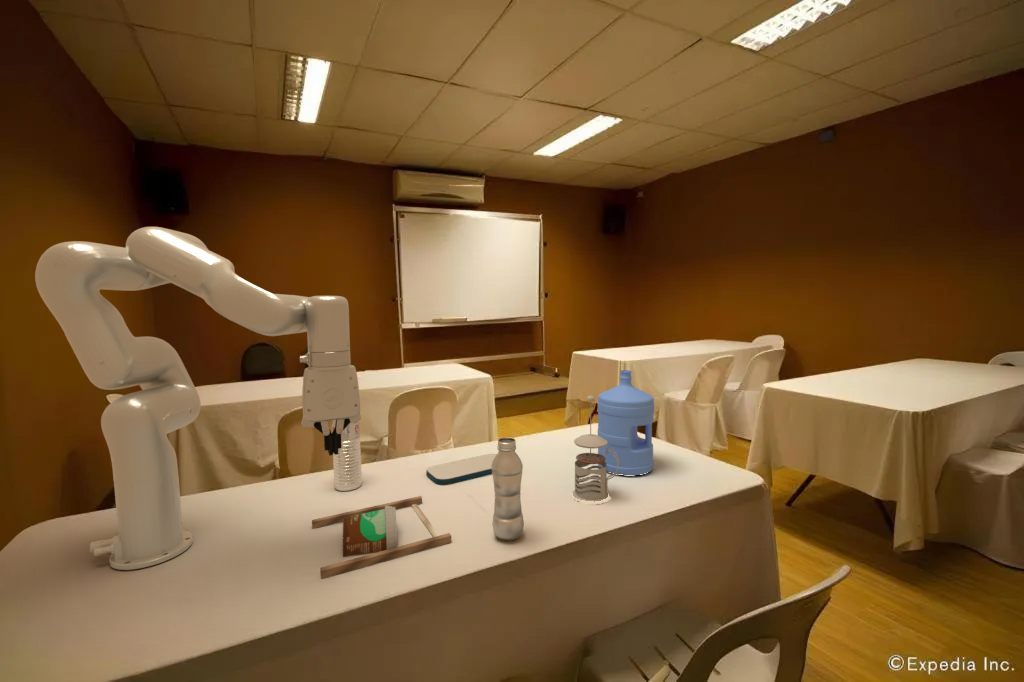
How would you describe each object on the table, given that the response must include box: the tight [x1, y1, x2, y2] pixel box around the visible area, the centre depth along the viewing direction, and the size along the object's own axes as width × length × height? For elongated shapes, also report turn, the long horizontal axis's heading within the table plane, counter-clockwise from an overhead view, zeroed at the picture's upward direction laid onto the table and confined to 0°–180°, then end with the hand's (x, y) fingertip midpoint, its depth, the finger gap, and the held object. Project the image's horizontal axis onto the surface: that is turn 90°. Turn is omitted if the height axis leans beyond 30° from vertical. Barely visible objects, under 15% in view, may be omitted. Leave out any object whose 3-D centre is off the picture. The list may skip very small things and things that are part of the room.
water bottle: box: [331, 420, 363, 492], centre depth 115 cm, size 7×7×25 cm
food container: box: [342, 506, 399, 557], centre depth 89 cm, size 12×6×10 cm
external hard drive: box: [425, 453, 497, 486], centre depth 126 cm, size 24×12×2 cm, turn 122°
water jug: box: [597, 369, 655, 475], centre depth 126 cm, size 16×16×28 cm
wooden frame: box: [311, 495, 452, 580], centre depth 92 cm, size 24×21×1 cm
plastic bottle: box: [491, 437, 525, 541], centre depth 89 cm, size 6×7×20 cm
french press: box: [572, 395, 619, 502], centre depth 107 cm, size 10×12×25 cm
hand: (333, 452), depth 86 cm, fingers closed
